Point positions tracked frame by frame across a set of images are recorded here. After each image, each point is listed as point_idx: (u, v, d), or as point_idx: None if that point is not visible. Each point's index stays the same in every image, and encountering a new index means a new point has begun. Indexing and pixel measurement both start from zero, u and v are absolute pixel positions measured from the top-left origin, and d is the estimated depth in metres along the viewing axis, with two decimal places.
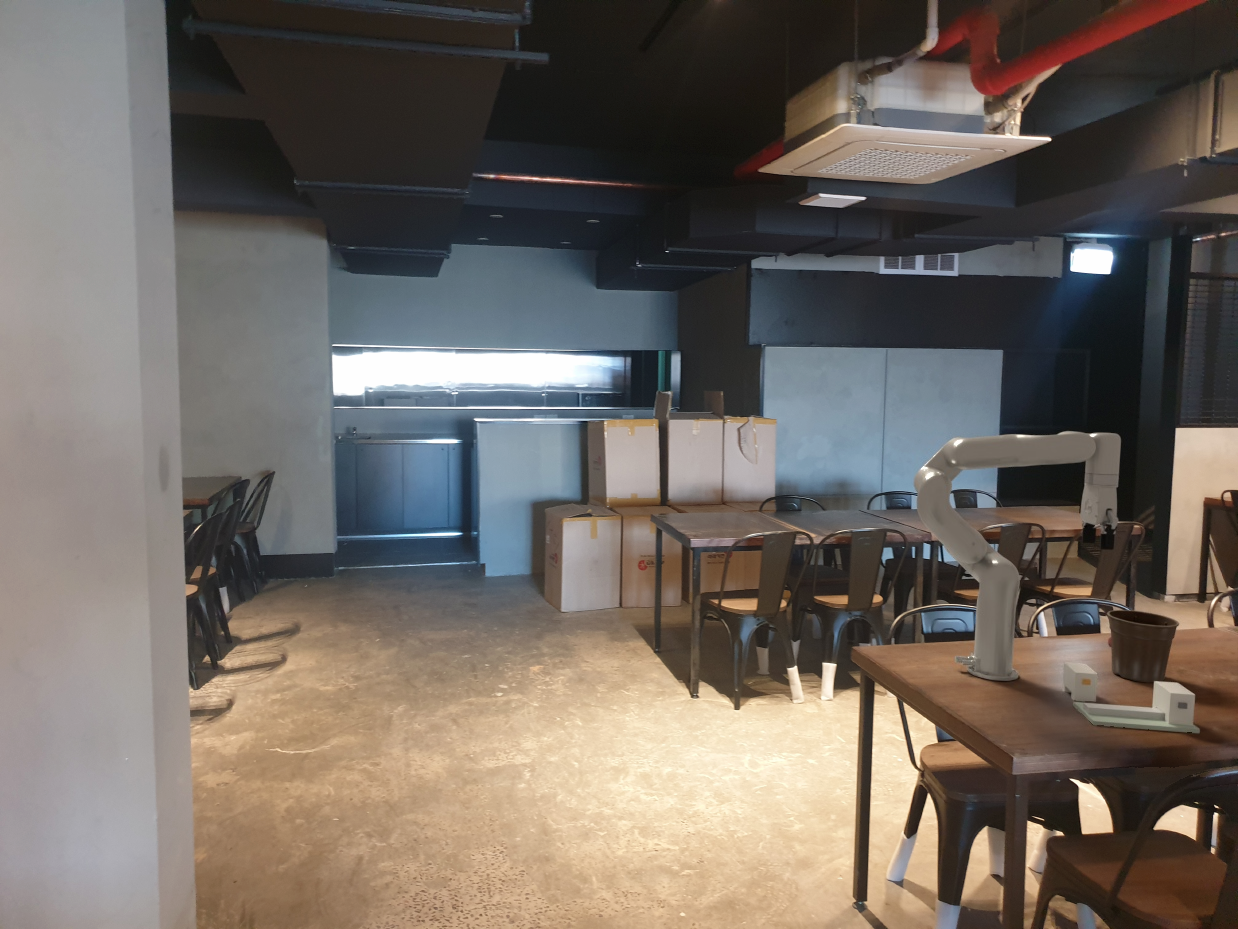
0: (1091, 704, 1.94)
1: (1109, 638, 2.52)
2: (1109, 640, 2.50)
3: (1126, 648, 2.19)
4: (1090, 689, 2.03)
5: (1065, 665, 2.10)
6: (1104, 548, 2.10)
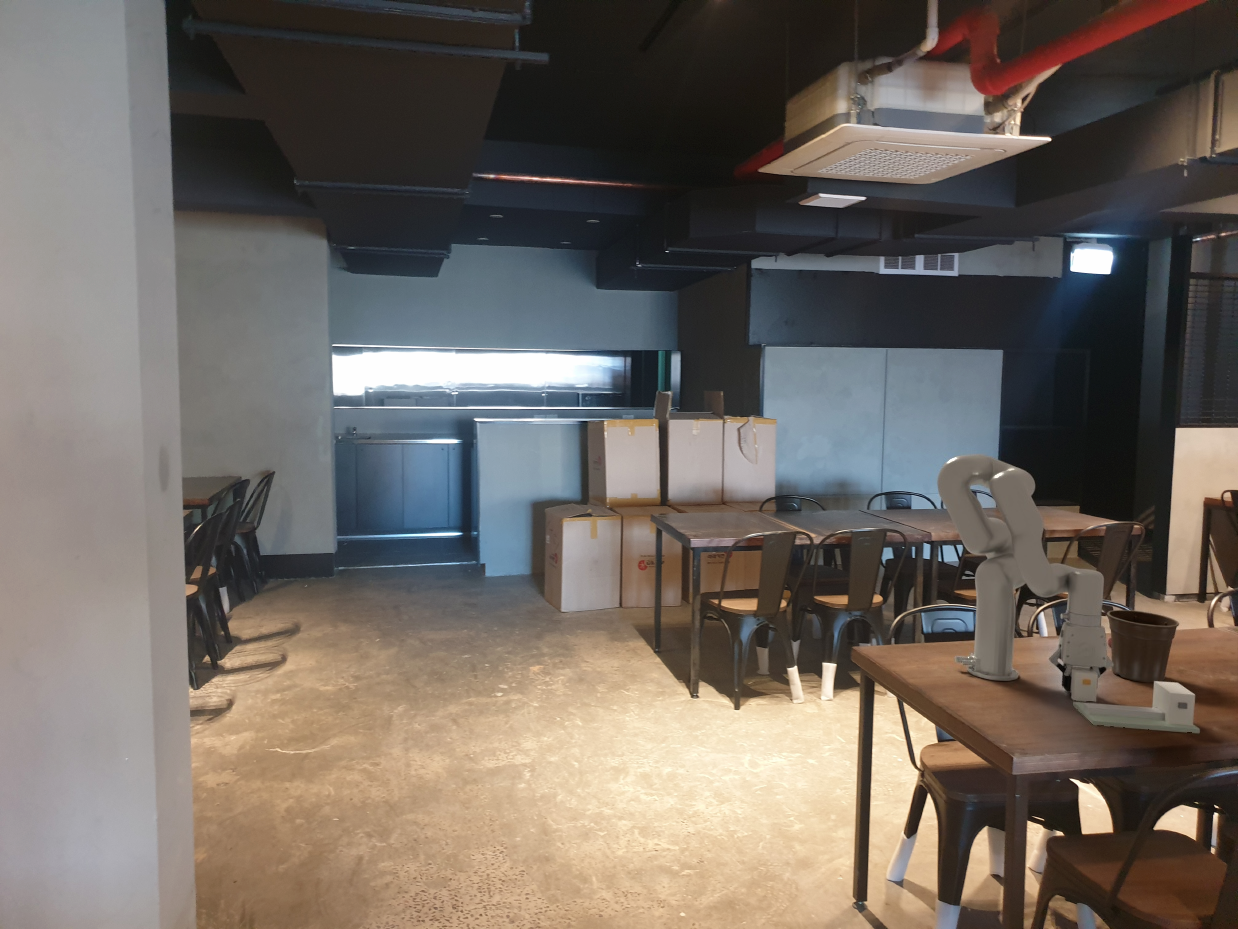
0: (1091, 704, 1.94)
1: (1109, 639, 2.52)
2: (1109, 641, 2.50)
3: (1126, 648, 2.19)
4: (1090, 688, 2.03)
5: None
6: None
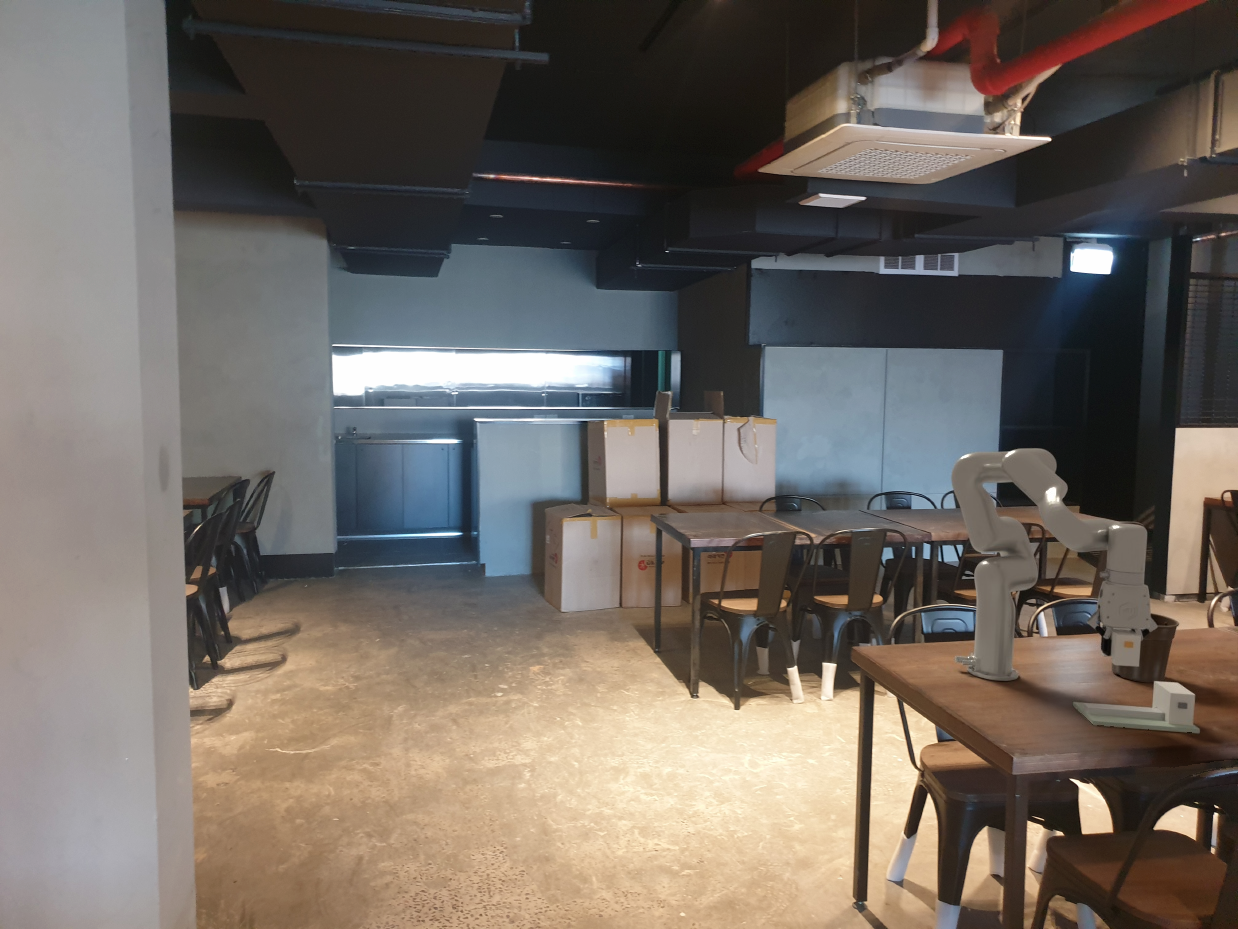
0: (1091, 704, 1.94)
1: None
2: None
3: None
4: (1132, 652, 1.87)
5: None
6: None
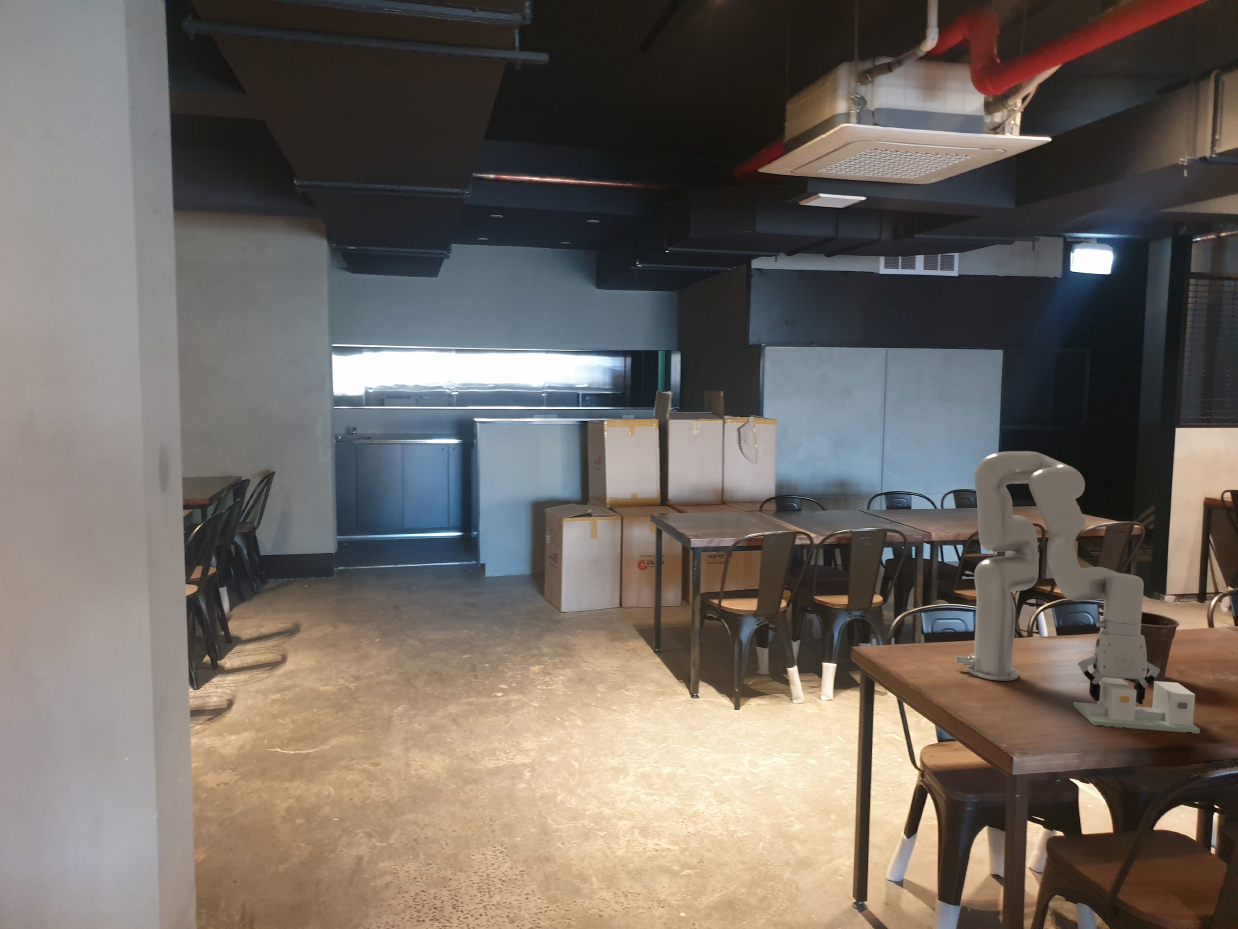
0: (1091, 704, 1.94)
1: None
2: None
3: None
4: (1128, 706, 1.88)
5: (1100, 680, 1.95)
6: None
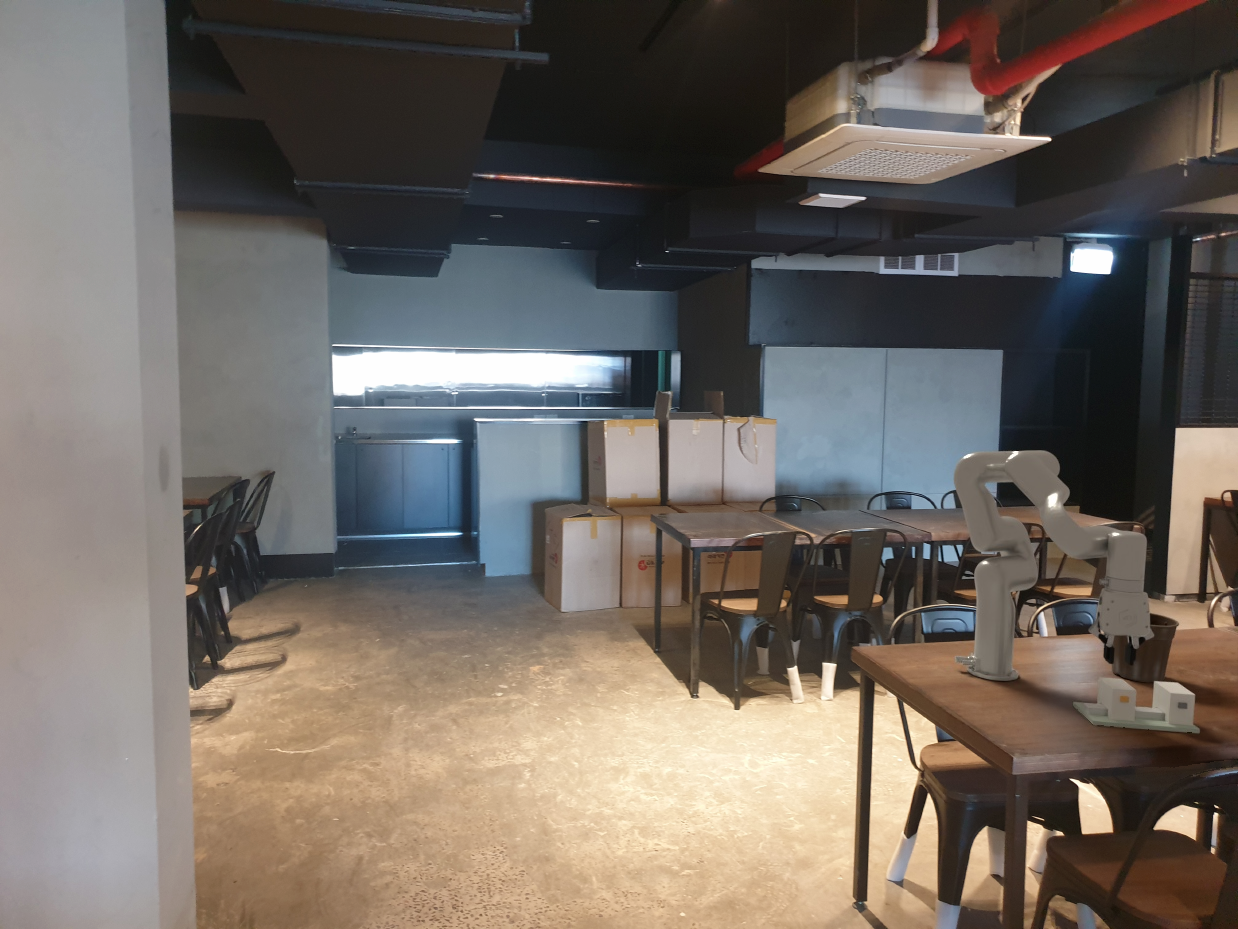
0: (1091, 704, 1.94)
1: None
2: None
3: None
4: (1128, 706, 1.88)
5: (1100, 680, 1.95)
6: None
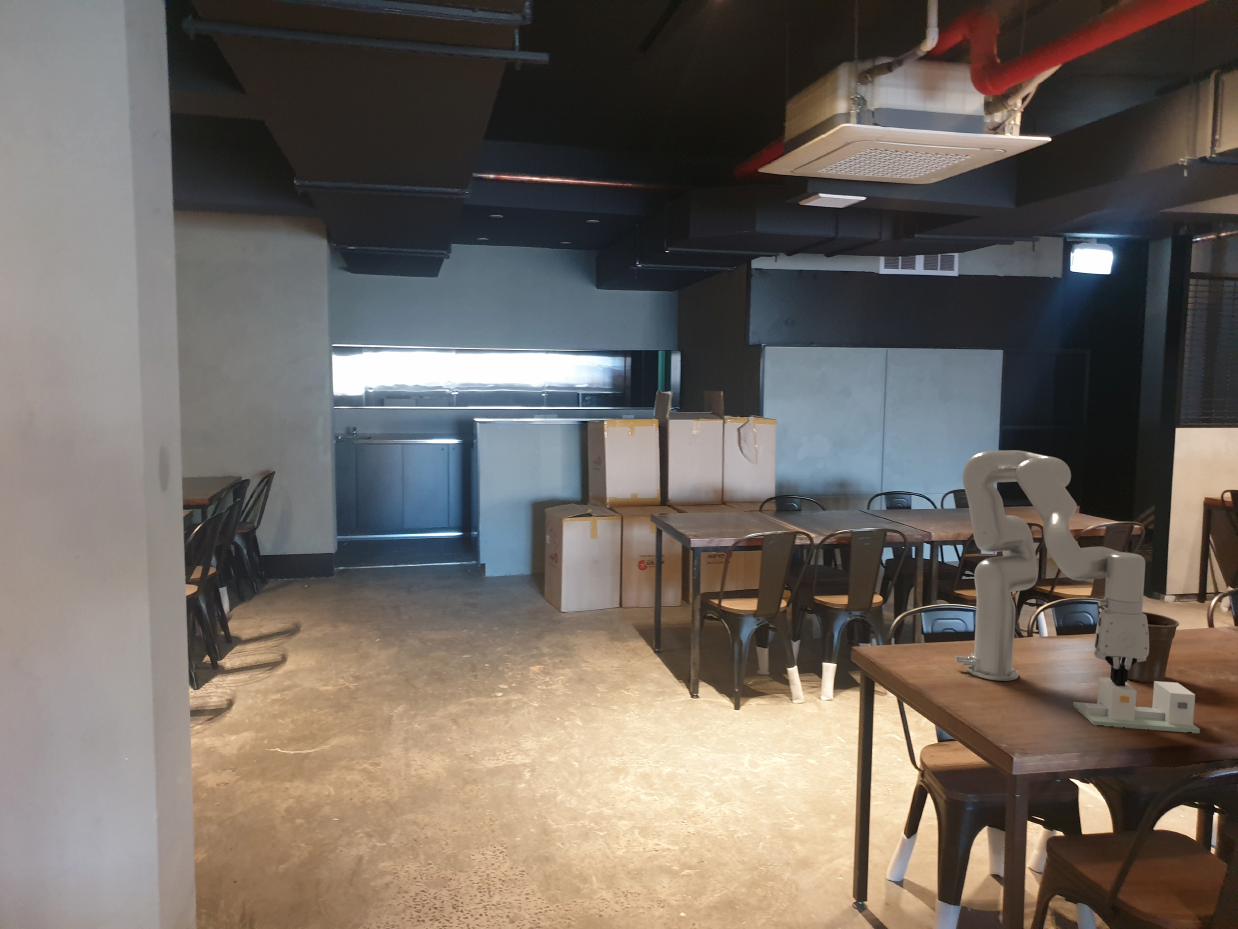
0: (1091, 704, 1.94)
1: None
2: None
3: None
4: (1128, 706, 1.88)
5: (1100, 680, 1.95)
6: None
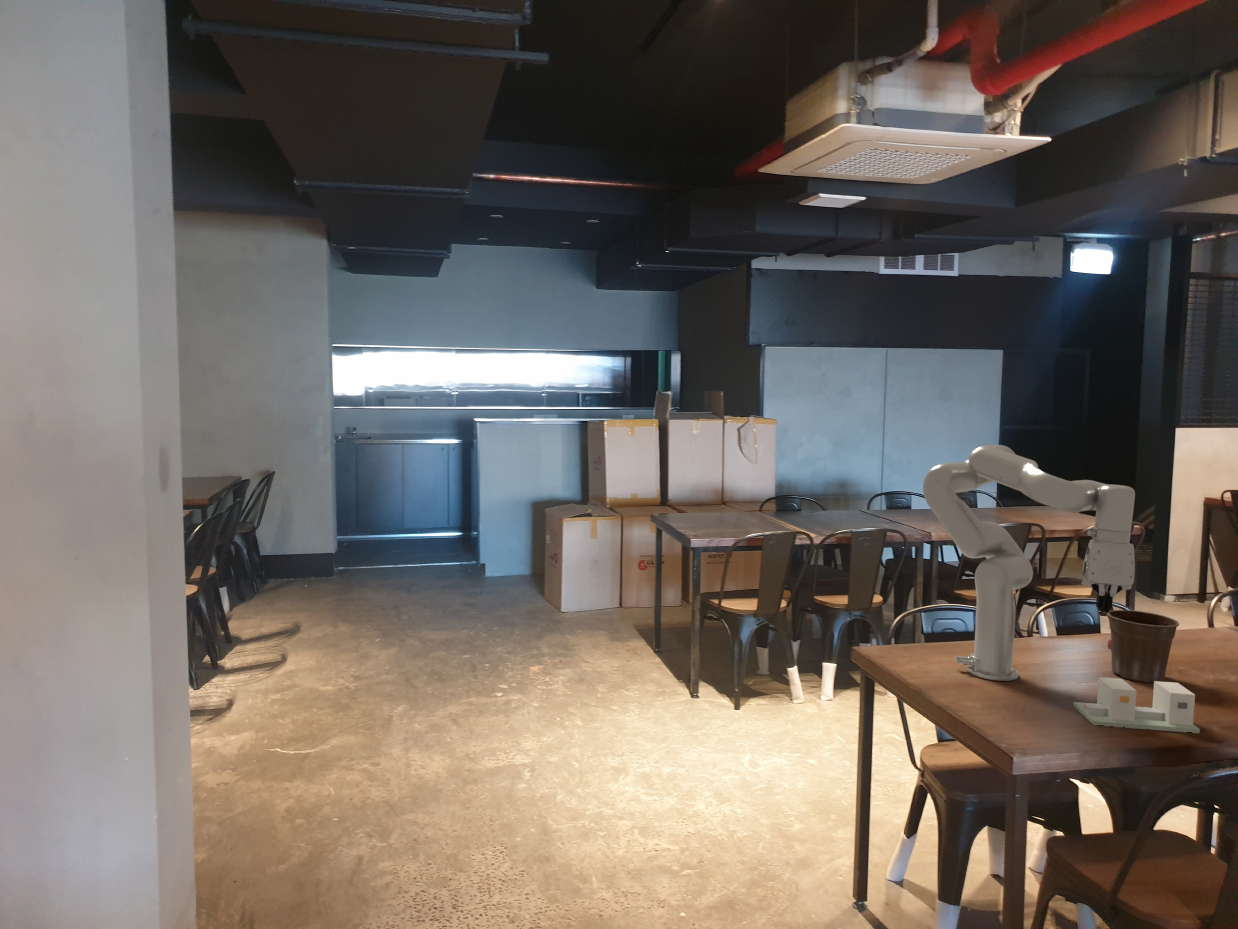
0: (1091, 704, 1.94)
1: (1109, 640, 2.50)
2: (1108, 642, 2.48)
3: (1126, 648, 2.19)
4: (1128, 706, 1.88)
5: (1100, 680, 1.95)
6: None
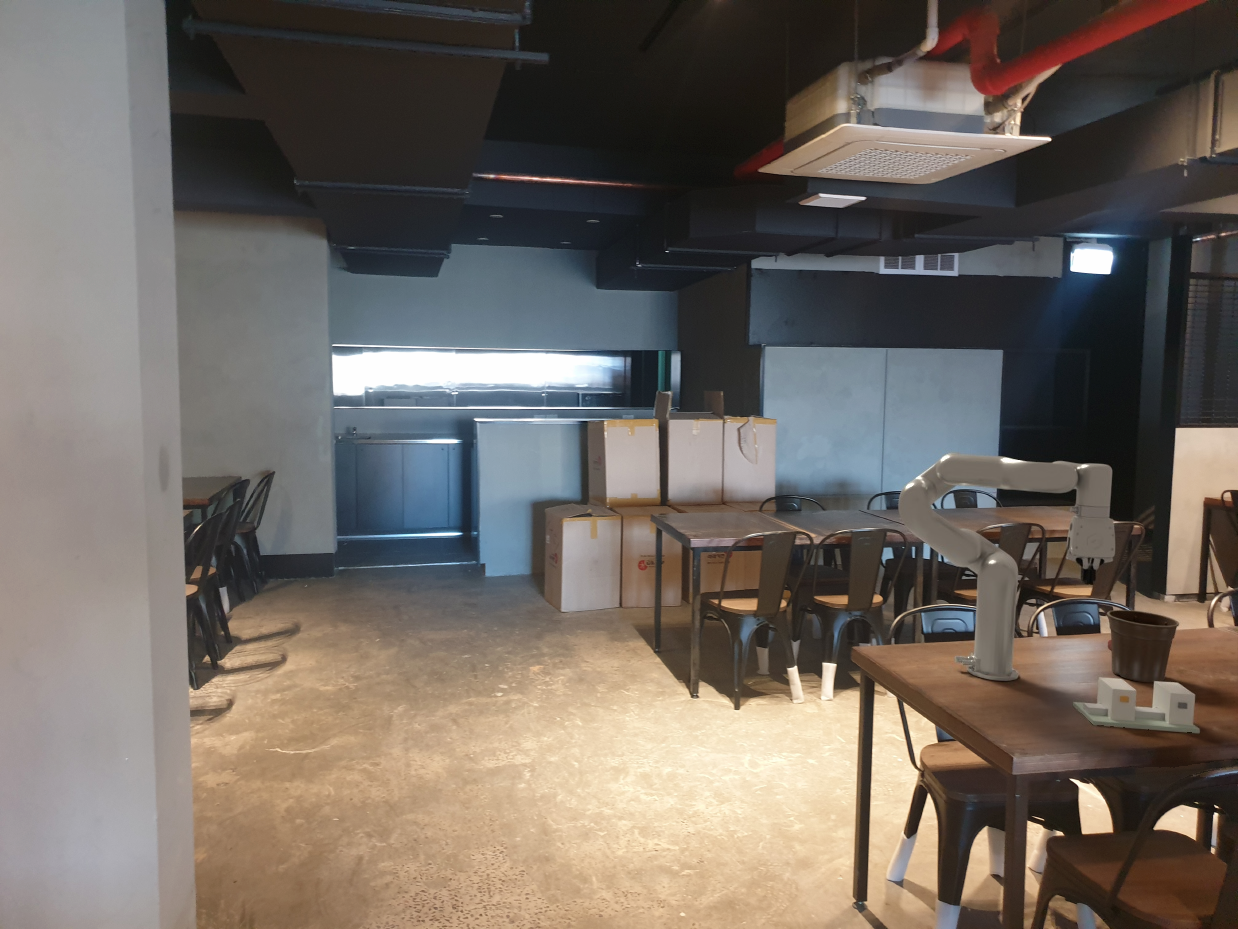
0: (1091, 704, 1.94)
1: (1109, 641, 2.50)
2: (1108, 643, 2.48)
3: (1126, 648, 2.19)
4: (1128, 706, 1.88)
5: (1100, 680, 1.95)
6: None
